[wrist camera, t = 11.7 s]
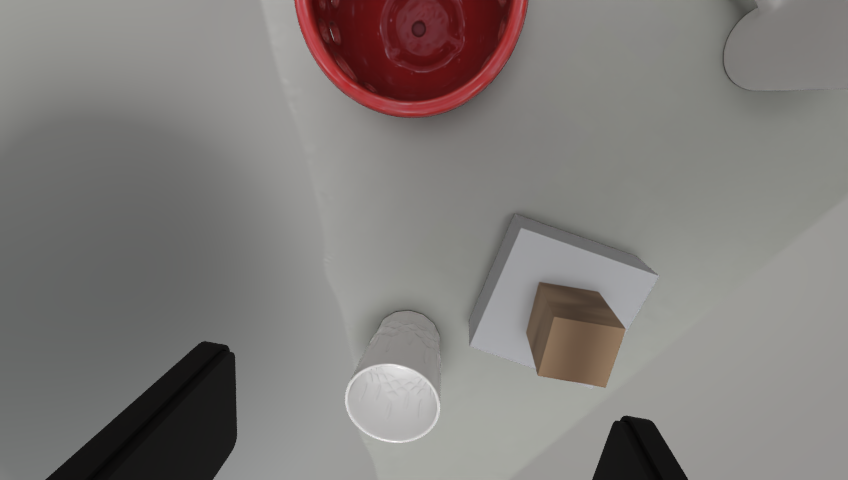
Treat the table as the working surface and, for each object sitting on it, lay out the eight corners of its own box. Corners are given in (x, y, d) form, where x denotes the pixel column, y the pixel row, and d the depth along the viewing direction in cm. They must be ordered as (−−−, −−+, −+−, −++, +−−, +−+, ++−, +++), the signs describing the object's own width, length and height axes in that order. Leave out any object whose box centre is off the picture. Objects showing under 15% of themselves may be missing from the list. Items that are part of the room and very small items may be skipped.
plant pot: (376, 133, 35) (335, 144, 24) (327, -30, 32) (251, -107, 20) (522, 90, 33) (553, 80, 22) (487, -91, 29) (501, -215, 18)
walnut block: (598, 291, 33) (626, 329, 28) (582, 342, 35) (605, 387, 29) (539, 281, 33) (554, 316, 28) (526, 332, 35) (537, 375, 29)
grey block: (634, 254, 37) (659, 275, 32) (578, 356, 41) (592, 388, 36) (514, 212, 37) (521, 227, 32) (468, 318, 41) (469, 346, 36)
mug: (833, 48, 30) (1056, 11, 19) (750, 113, 32) (907, 115, 21) (758, -61, 28) (953, -172, 17) (675, 15, 30) (801, -41, 19)
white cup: (400, 381, 44) (383, 456, 34) (356, 328, 42) (325, 391, 32) (460, 348, 42) (459, 418, 32) (416, 291, 40) (401, 347, 30)
